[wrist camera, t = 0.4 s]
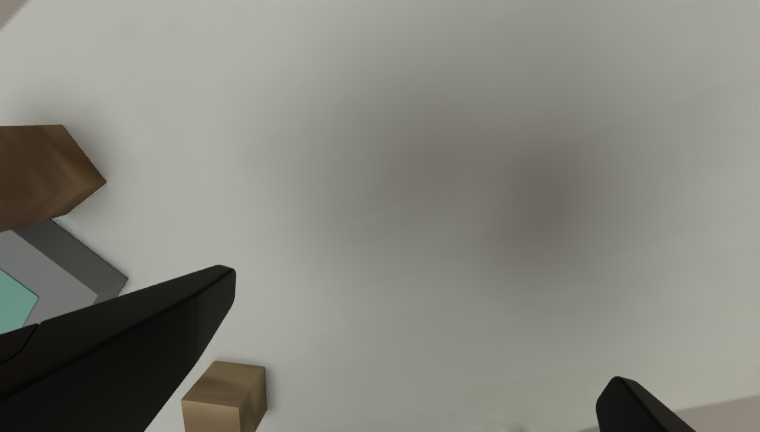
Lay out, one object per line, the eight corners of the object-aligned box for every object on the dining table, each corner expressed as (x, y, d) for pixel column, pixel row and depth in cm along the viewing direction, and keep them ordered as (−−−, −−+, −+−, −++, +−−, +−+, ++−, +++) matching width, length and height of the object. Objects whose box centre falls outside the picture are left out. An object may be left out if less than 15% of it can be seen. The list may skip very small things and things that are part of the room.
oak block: (267, 409, 28) (242, 455, 24) (219, 402, 28) (187, 446, 25) (264, 366, 27) (238, 407, 23) (215, 360, 27) (181, 399, 24)
